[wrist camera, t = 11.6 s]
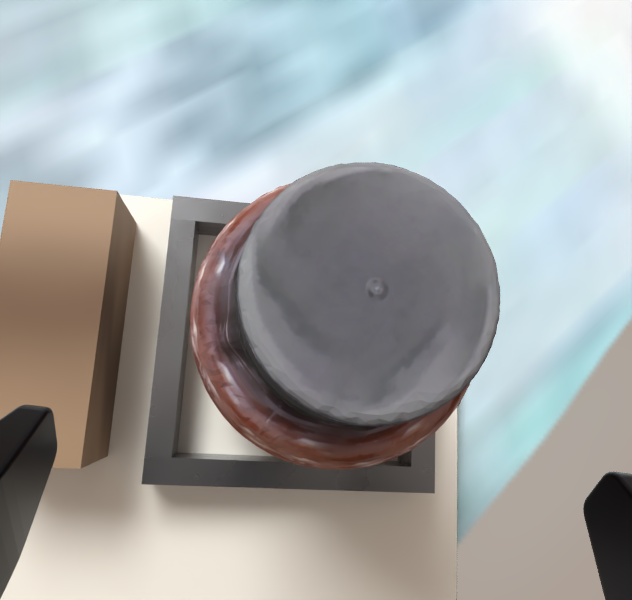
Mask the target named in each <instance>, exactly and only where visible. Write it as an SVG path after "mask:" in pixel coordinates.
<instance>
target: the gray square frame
mask: <svg viewBox="0 0 632 600" xmlns="http://www.w3.org/2000/svg"><path fill="white" fill-rule="evenodd" d="M249 204H250V203H240V202H230V201H220V200H211V199H201V198H191V197H181V196H173V203H172V212H171V221H170V230H169V239H168V248H167V257H166V266H165V275H164V284H163V293H162V302H161V311H160V320H159V329H158V338H157V347H156V357H155V366H154V375H153V384H152V393H151V402H150V411H149V420H148V429H147V438H146V447H145V456H144V465H143V474H142V483H141V484H146V485H179V486H211V487H243V488H276V489H308V490H340V491H373V492H405V493H435V433H434V434H433V435H431V436H430V437H429V438H427V439H426V440H425V441H423V442H422V443H421V444H419V445H418V446H416V447H415V448H413V449H412V450H411V451H409V452H407V453H404V454H402V455H400V456H398V461H386V462H383V463H380V464H377V465H373V466H370V467H363V468H355V469H343V470H330V469H318V468H312V467H306V466H302V465H298V464H294V463H291V462H288V461H286V460H283V459H280V458H277V457H275V456H255V455H230V454H204V453H178V452H177V450H178V440H179V430H180V420H181V410H182V400H183V389H184V379H185V369H186V359H187V349H188V339H189V329H190V309H191V302H192V295H193V289H194V279H195V269H196V259H197V249H198V238H199V234H200V235H210V236H218V235H219V233H220V232H221V231H222V229H223V228H224V227H225V226H226V224H227V223H228V222H230V221H231V220H232V218H234V217H235V216H236V215H237V214H238V213H239V212H240V211H241V210H242V209H244V208H245V207H247V206H248V205H249Z"/></svg>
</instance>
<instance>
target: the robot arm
mask: <svg viewBox="0 0 632 600" xmlns="http://www.w3.org/2000/svg"><path fill="white" fill-rule="evenodd" d="M56 453H57V437H56V429H55V421H54V414H53V411H52V409H51V408H49V407H44V406H36V405H21V406H19V407H17V408H16V409H14V410H13V411H11V412H10V413H8V414H7V415H6V416H4V417H3V418H1V419H0V599H1V597H2V595H3V593H4V591H5V589H6V587H7V585H8V582H9V580H10V578H11V576H12V574H13V572H14V570H15V567H16V565H17V563H18V561H19V558H20V556H21V553H22V550H23V548H24V545H25V542H26V540H27V537H28V534H29V531H30V528H31V526H32V523H33V520H34V517H35V514H36V511H37V509H38V506H39V503H40V500H41V497H42V495H43V492H44V489H45V486H46V483H47V480H48V478H49V475H50V472H51V469H52V466H53V463H54V461H55V457H56ZM584 517H585V521H586V525H587V529H588V533H589V537H590V541H591V545H592V549H593V552H594V557H595V561H596V565H597V569H598V573H599V577H600V581H601V585H602V589H603V592H604V596H605V599H606V600H632V474H628V473H619V472H609V473H606V474H605V475H604V476H603V477H602V479H601V480H600V481H599V482H598V484H597V485H596V486H595V488H594V489H593V490H592V492H591V493H590V494H589V496H588V497H587V498H586V500H585V503H584Z"/></svg>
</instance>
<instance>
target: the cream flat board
mask: <svg viewBox="0 0 632 600" xmlns="http://www.w3.org/2000/svg"><path fill="white" fill-rule="evenodd" d="M120 197H121V198H122V200H123V202H124V203H125V205H126V207H127V208H128V210H129V212H130V213H131V215H132V216H133V218H134V220H135V221H136V223H137V224H136V232H135V240H134V248H133V256H132V265H131V273H130V281H129V289H128V297H127V305H126V313H125V321H124V329H123V338H122V346H121V354H120V362H119V370H118V378H117V386H116V394H115V402H114V411H113V419H112V427H111V435H110V443H109V451H108V456H107V457H105V458H103V459H101V460H98V461H96V462H94V463H92V464H90V465H88V466H85V467H83V468H81V469H71V468H52V469H51V472H50V475H49V478H48V480H47V483H46V486H45V489H44V492H43V495H42V497H41V500H40V503H39V506H38V509H37V511H36V514H35V517H34V520H33V523H32V526H31V528H30V531H29V534H28V537H27V540H26V542H25V545H24V548H23V550H22V553H21V556H20V558H19V561H18V563H17V565H16V567H15V570H14V572H13V574H12V576H11V578H10V580H9V582H8V585H7V587H6V589H5V591H4V593H3V595H2V597H1V599H0V600H457V408H456V409H455V410H454V412H453V413H452V414H451V416H450V417H449V418H448V419H447V420H446V422H445V423H444V424H443V425H442V426H441V427H440V428H439V429H438V430H437V431H436V432H435V493H405V492H373V491H340V490H308V489H276V488H243V487H211V486H179V485H146V484H141V483H142V474H143V465H144V456H145V447H146V438H147V429H148V420H149V411H150V402H151V393H152V384H153V375H154V366H155V357H156V347H157V338H158V329H159V320H160V311H161V302H162V293H163V284H164V275H165V266H166V257H167V248H168V239H169V230H170V221H171V212H172V203H173V200H167V199H157V198H147V197H137V196H127V195H120ZM216 237H217V236H210V235H200V234H199V238H198V249H197V259H196V269H195V279H194V286H195V281H196V278H197V276H198V272H199V269H200V266H201V264H202V262H203V260H204V258H205V256H206V255H207V252H208V250H209V248H210V247H211V245H212V243H213V242H214V240H215V239H216ZM193 290H194V289H193ZM177 452H178V453H204V454H230V455H255V456H273V455H271V454H269V453H267V452H266V451H264V450H262V449H260V448H259V447H257V446H256V445H254V444H253V443H251V442H250V441H249V440H247V439H246V438H244V437H243V436H242V435H241V434H240V433H238V432H237V431H236V430H235V429H234V428H233V427H232V426H231V425H230V423H229V422H228V421H227V420H226V419H225V418H224V417H223V416H222V414H221V413H220V411H219V410H218V409H217V407H216V406H215V404H214V403H213V401H212V399H211V398H210V396H209V394H208V393H207V391H206V389H205V387H204V384H203V382H202V380H201V377H200V375H199V372H198V369H197V366H196V363H195V359H194V355H193V350H192V344H191V335H190V329H189V339H188V349H187V359H186V369H185V379H184V389H183V400H182V410H181V420H180V430H179V440H178V450H177ZM388 461H398V457H396V458H394V459H391V460H388Z"/></svg>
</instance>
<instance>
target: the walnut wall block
mask: <svg viewBox="0 0 632 600" xmlns="http://www.w3.org/2000/svg"><path fill="white" fill-rule="evenodd" d="M136 224H137V223H136V221H135V220H134V218H133V216H132V215H131V213H130V212H129V210H128V208H127V207H126V205H125V203H124V202H123V200H122V198H121V197H120V195H119V193H118V192H117V191H112V190H102V189H92V188H82V187H72V186H62V185H53V184H43V183H33V182H23V181H13V180H11V181H10V187H9V192H8V198H7V204H6V210H5V215H4V221H3V227H2V233H1V239H0V419H1V418H3V417H4V416H6V415H7V414H8V413H10V412H11V411H13V410H14V409H16V408H17V407H19V406H21V405H36V406H44V407H49V408H51V409H52V411H53V414H54V421H55V429H56V437H57V453H56V457H55V461H54V463H53V466H52V468H71V469H81V468H83V467H85V466H88V465H90V464H92V463H94V462H96V461H98V460H101V459H103V458H105V457H107V456H108V451H109V443H110V435H111V427H112V419H113V411H114V402H115V394H116V386H117V378H118V370H119V362H120V354H121V346H122V338H123V329H124V321H125V313H126V305H127V297H128V289H129V281H130V273H131V265H132V256H133V248H134V240H135V232H136Z"/></svg>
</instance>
